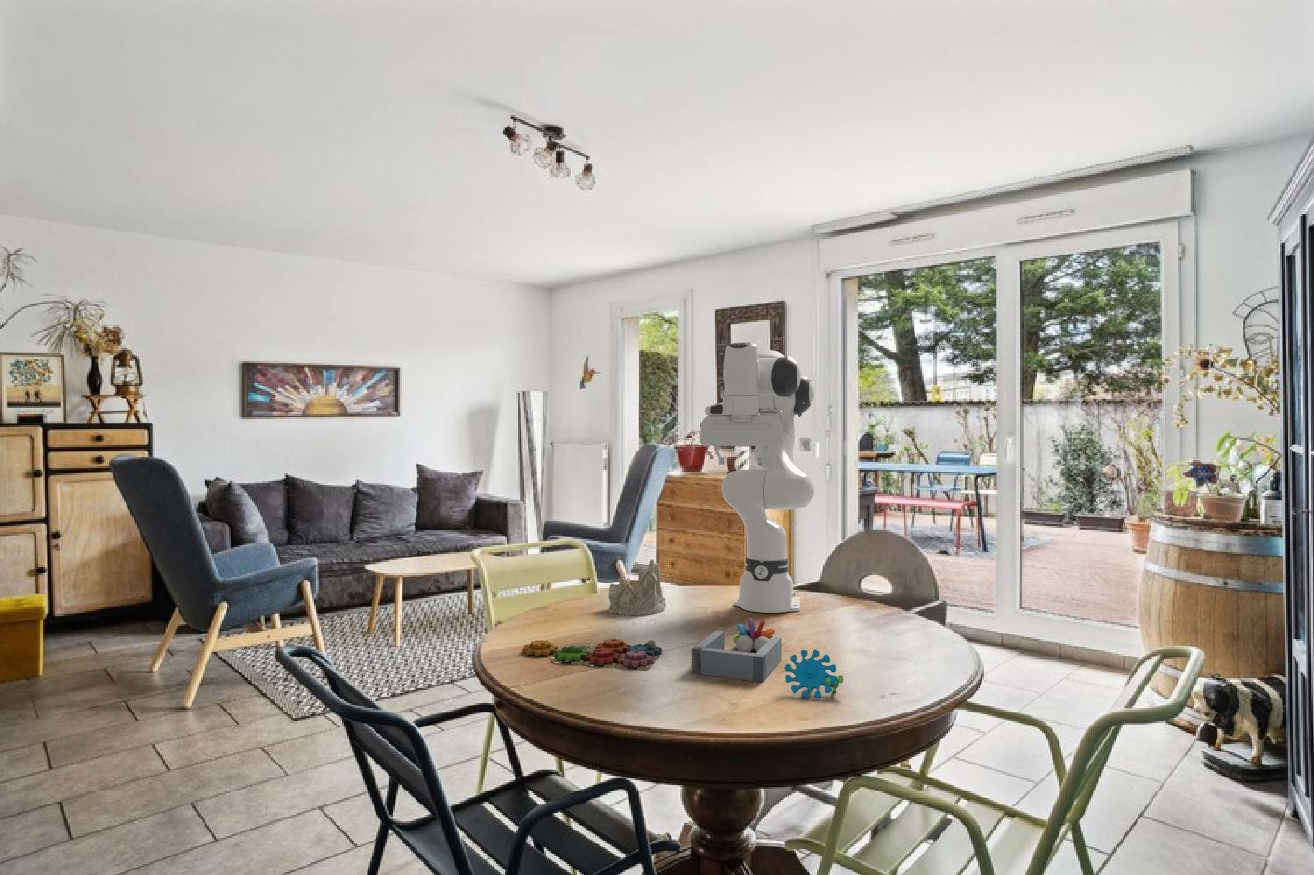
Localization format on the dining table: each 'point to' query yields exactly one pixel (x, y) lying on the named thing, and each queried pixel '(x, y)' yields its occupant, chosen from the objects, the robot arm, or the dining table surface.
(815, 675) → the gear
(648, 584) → the ceramic cottage
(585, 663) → the gear puzzle
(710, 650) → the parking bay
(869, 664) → the dining table surface
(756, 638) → the multicoloured rounded-lobe toy
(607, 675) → the dining table surface
